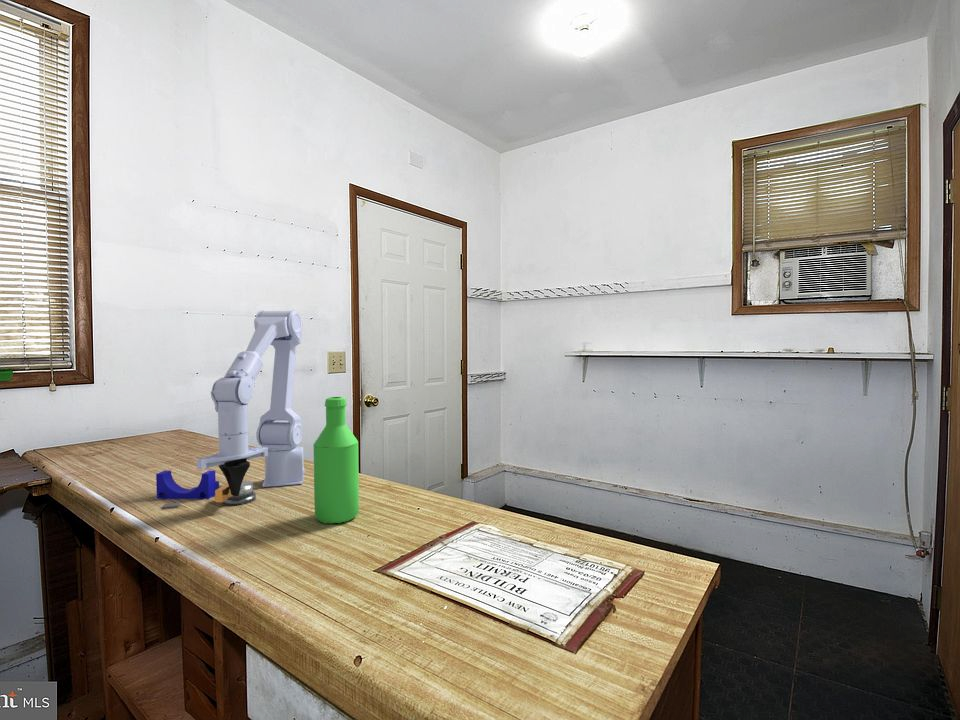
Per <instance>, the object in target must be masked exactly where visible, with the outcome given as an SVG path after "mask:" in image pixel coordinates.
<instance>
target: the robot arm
mask: <svg viewBox="0 0 960 720" xmlns="http://www.w3.org/2000/svg"><path fill="white" fill-rule="evenodd" d="M253 321H254V322H253V326H254V333H253V334H252V337H251V339H250V341H249V343H248V346H247V348H246V350H245V351H241V352H239V353H237V355H236V357H235V358H234V360H233V362H232V363H231V365H230V366H229V368H228V370H227V372H226V373H225V375H224V376H223V377H220V378H218V379H217V380H216V381H215V382H214V383H213V385H212V388H211V391H210V396H211V399H212V401H213V403H214V410H215V412H216V413H217V417H218V418H217V425H218V430H217V431H218V453H215V454H211V455H208V456H204V457H200V458H196V469H197V470H202V471H203V470H206V469H207V468H213V467H217V466H218V467H219V469H220V471H221V472H222V474H223V476H224V477H225V480H226V481H227V483H228V485H229V488H230V491H231V495H233V496H239V492H240V488H241V484H242V481H244V478H245V476H246V474H247V472H248V470H249V468H251V467H250V466H251V461H248V460H251V459H256V458H261V457H263V458H264V476H265V477H264V480H263V482H262V485H261V487H262V488H272V487H281V486H293V485H302V484H303V483H304V476H305V474H306V471H305V467H304V447H303V446H299V444H300V443H301V442H302V439H303V428H302V418H301V416H300V415H298V414H297V413H296V412H295V411H293V409H292V403H293V392H294V380H295V378H294V377H295V376H294V375H295V367H296V353H297V346H298V345H300V344H301V342H302V335H303V333H302V331H303V321H302V318H301V315H300V314H299V312H298V311H297V310H277V311H276V310H259V311H258V312H257V314H256V316H255V318H254V320H253ZM270 346H273V348H274V359H273V370H272V371H273V374H272V381H271V382H272V383H271V384H272V385H271V396H270V407H269V410H268V411H267V412H265V413H264V414H262V415H261V416H260V418H259V423H258V426H257V430H256V434H255V436H256V437H255V438H256V442H257V443H258V445H259V446H260V447H259V446H258V447H250V448H249V415H248V414H249V410H248V408H249V407H248V403H250V402H251V400H252V399H253V397H254V388H255V384H256V383H255V380H256V378H257V376H258V375H259V373H260V371H261V369H262V367H263V366H264V362H263V359H261V358H262V357H263V356H264V355H265V353H266V351H267V350H268V348H269V347H270ZM280 421H284V422H280Z"/></svg>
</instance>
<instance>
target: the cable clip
mask: <svg viewBox="0 0 960 720" xmlns="http://www.w3.org/2000/svg"><path fill="white" fill-rule="evenodd" d="M155 477H156V478H155V479H156V480H155V481H156V482H155V483H156V485H155V486H156V487H155V488H156V500H210V499H211V498H214V497H215V490H217V489H219V488H220V481H219V480H217V479H216V470H207V471H204V472H203V473H201V479H200V482H199V483H198V485H197V486H194V487H193V488H190V489H189V488H184V487H183V486H181V485H179V484H178V483H177V482H176V481H175V479H174V478H173V475H172V470H163V471H160V472H158V473H156V474H155Z"/></svg>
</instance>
